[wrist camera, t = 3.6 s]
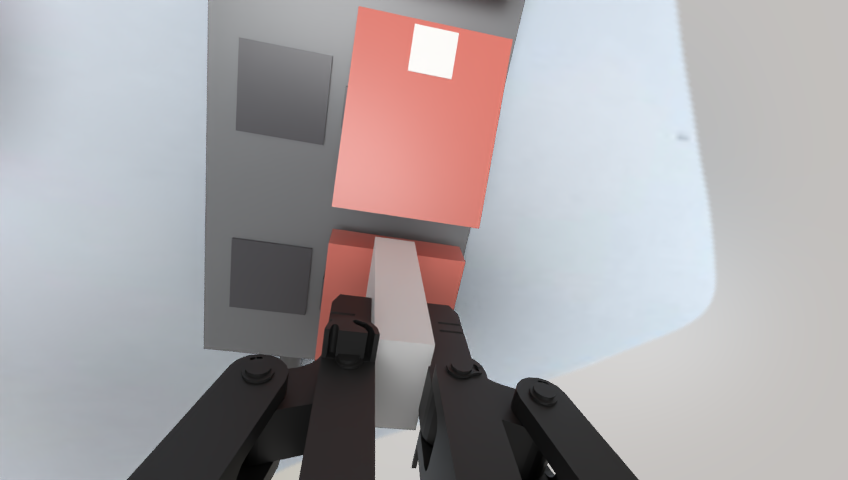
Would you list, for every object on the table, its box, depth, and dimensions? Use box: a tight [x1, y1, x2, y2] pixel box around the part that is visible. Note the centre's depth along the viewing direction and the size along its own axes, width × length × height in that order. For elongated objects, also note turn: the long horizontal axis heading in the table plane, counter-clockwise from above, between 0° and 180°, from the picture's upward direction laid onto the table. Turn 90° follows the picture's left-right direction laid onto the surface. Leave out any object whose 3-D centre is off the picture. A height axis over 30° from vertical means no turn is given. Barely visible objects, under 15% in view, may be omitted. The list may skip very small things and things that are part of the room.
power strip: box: [204, 0, 525, 369], centre depth 21 cm, size 12×30×5 cm, turn 169°
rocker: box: [315, 229, 465, 360], centre depth 20 cm, size 6×7×2 cm
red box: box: [332, 6, 513, 229], centre depth 17 cm, size 6×7×2 cm
